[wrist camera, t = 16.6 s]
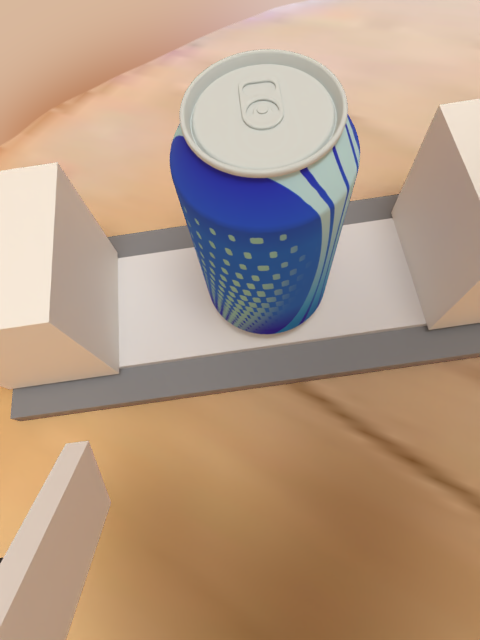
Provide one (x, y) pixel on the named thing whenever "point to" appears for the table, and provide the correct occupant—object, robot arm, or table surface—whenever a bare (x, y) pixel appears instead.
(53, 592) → the robot arm
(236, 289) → the beer can
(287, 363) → the rail board
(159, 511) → the table surface
